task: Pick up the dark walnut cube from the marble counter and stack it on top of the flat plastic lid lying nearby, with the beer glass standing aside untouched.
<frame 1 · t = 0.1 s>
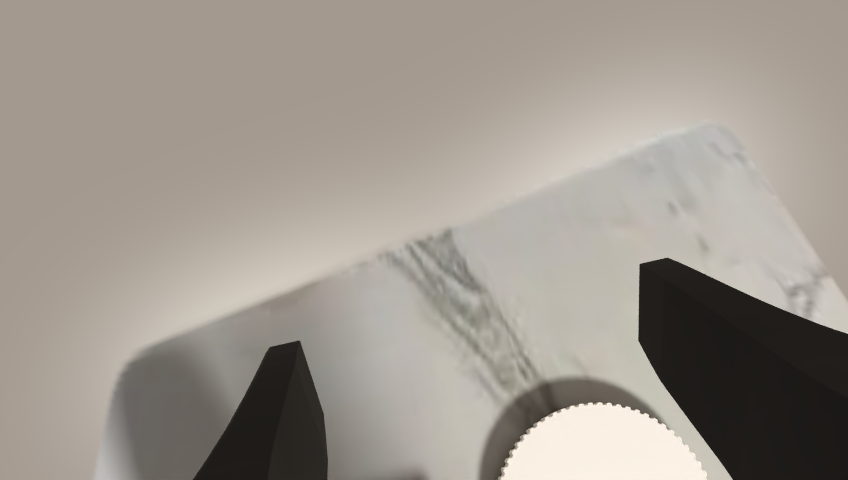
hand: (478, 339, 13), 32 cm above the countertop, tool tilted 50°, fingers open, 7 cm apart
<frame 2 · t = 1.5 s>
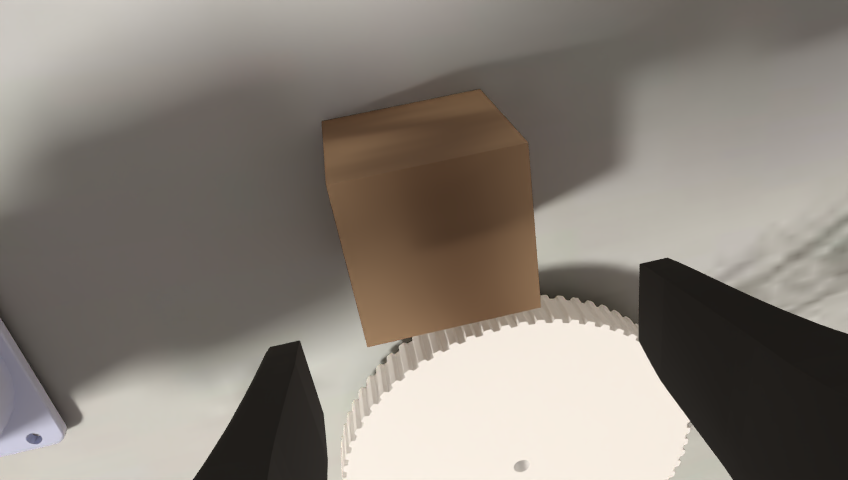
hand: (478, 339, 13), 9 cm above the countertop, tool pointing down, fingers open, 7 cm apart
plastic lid: (503, 416, 27), on the countertop
walnut cube: (414, 177, 21), on the countertop
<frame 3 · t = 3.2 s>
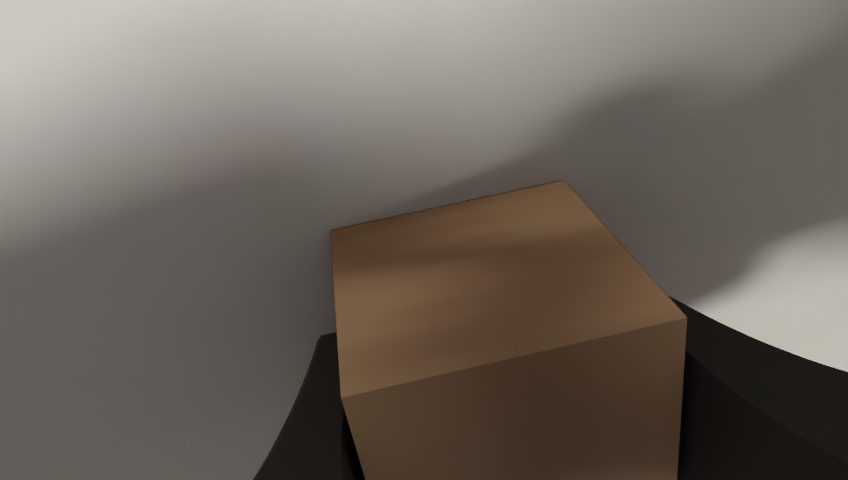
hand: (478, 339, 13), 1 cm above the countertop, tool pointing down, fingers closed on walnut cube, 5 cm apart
walnut cube: (463, 302, 14), on the countertop, touching gripper
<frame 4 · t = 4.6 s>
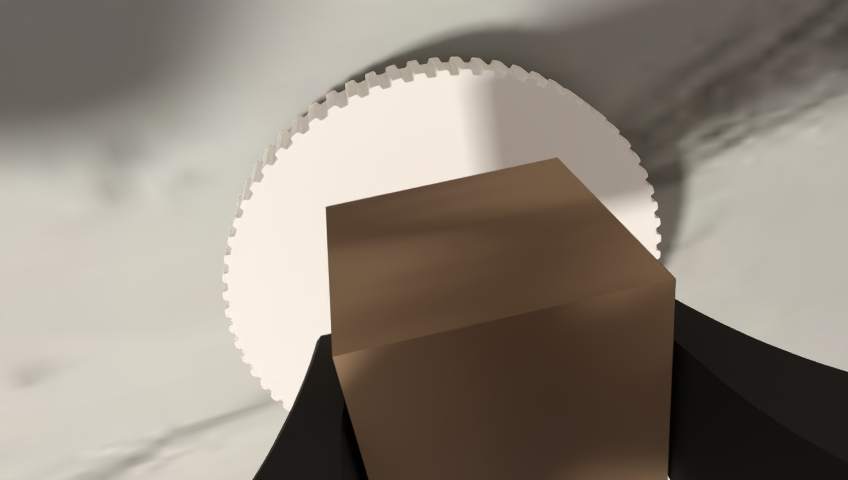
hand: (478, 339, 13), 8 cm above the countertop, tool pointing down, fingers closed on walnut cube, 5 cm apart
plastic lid: (436, 249, 22), on the countertop
walnut cube: (458, 280, 14), point 7 cm above the countertop, touching gripper
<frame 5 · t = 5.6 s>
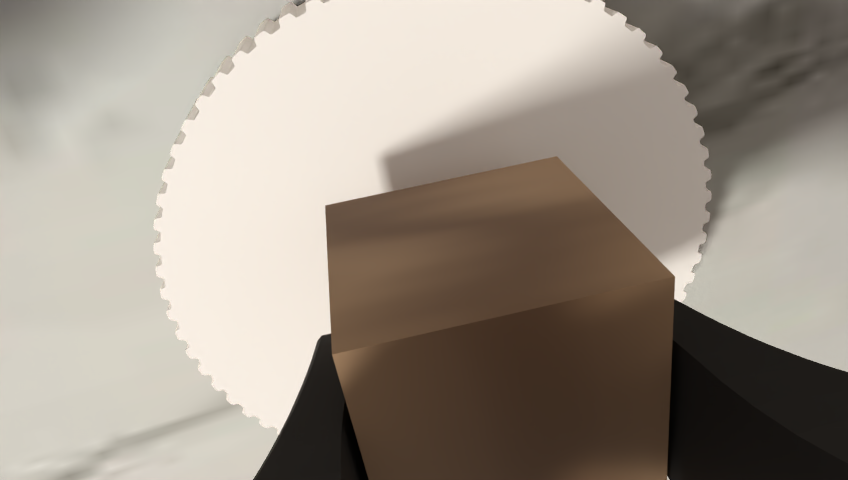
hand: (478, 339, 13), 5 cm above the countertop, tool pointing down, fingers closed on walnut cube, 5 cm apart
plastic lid: (430, 217, 18), on the countertop
walnut cube: (457, 279, 14), point 4 cm above the countertop, touching gripper
when the fingers open (5 cm above the countertop, at t = 6.3 s): walnut cube drops 2 cm, resting on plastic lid.
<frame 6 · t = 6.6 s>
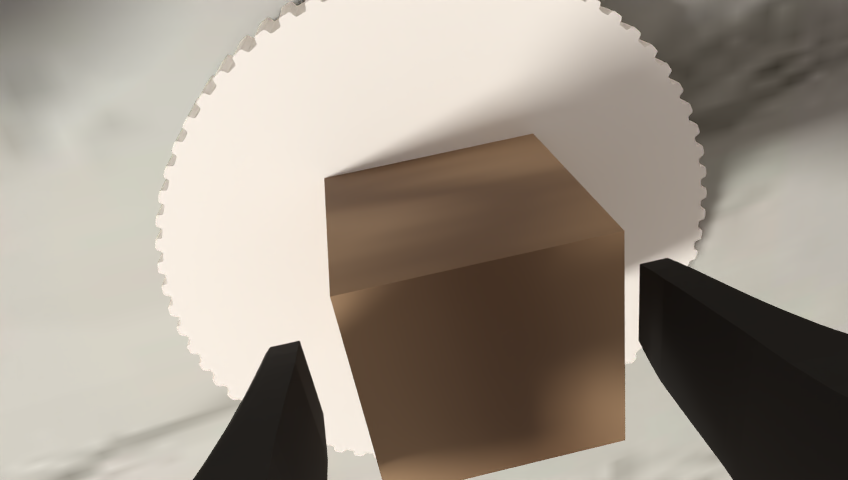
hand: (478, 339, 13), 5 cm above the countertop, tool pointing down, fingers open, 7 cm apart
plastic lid: (429, 214, 19), on the countertop, touching walnut cube
walnut cube: (444, 246, 16), point 2 cm above the countertop, touching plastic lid
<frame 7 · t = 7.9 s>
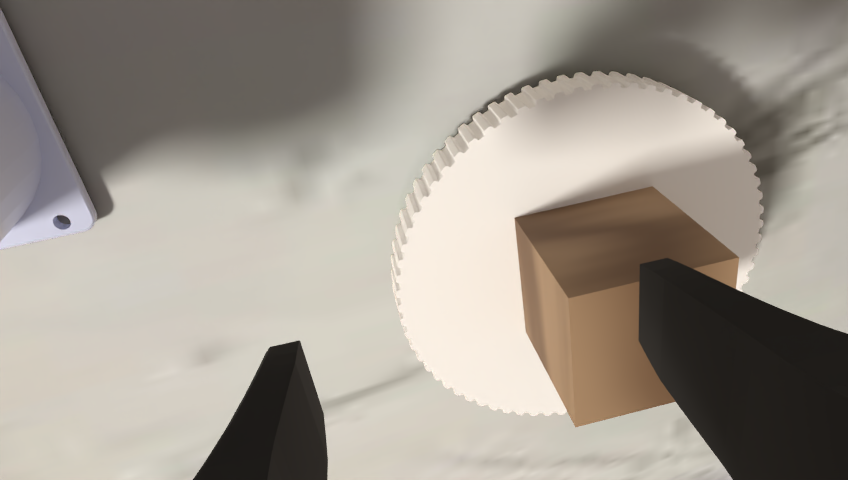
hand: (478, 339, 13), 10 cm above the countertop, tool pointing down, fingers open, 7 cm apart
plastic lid: (558, 237, 26), on the countertop, touching walnut cube
walnut cube: (586, 262, 23), point 2 cm above the countertop, touching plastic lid
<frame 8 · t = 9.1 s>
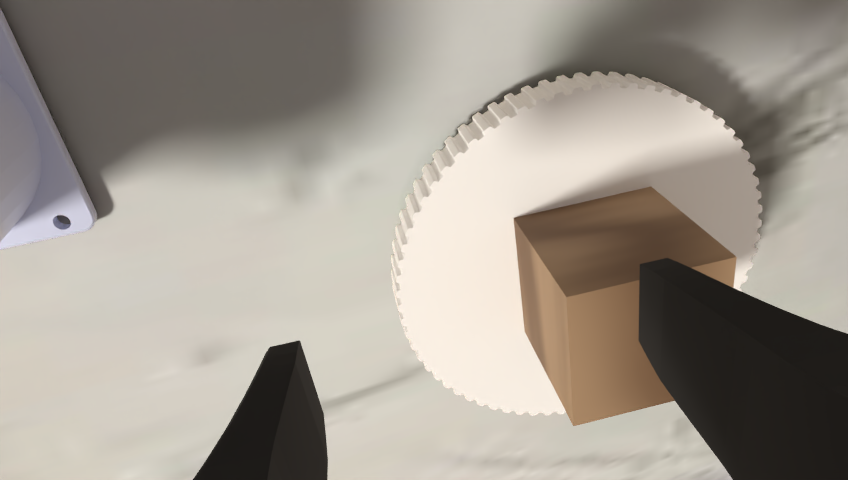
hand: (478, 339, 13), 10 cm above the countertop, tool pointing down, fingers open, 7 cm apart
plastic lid: (557, 237, 26), on the countertop, touching walnut cube
walnut cube: (584, 262, 23), point 2 cm above the countertop, touching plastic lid
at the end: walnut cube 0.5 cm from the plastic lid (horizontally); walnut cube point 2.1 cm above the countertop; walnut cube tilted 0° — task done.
